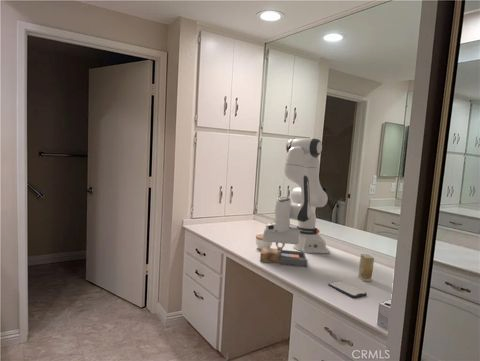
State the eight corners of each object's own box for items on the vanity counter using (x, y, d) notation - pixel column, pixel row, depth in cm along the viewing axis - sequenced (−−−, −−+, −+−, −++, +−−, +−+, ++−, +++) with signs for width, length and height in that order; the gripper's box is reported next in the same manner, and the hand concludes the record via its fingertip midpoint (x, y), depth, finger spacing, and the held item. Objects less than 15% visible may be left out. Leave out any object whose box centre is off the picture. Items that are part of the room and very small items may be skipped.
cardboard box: (279, 256, 199) (280, 249, 199) (280, 263, 187) (280, 255, 187) (261, 254, 200) (261, 247, 200) (260, 261, 189) (260, 253, 188)
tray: (303, 257, 200) (304, 252, 200) (306, 266, 184) (306, 260, 184) (279, 255, 201) (280, 249, 201) (280, 264, 186) (280, 258, 185)
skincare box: (357, 277, 174) (360, 253, 173) (366, 277, 174) (368, 253, 173) (363, 281, 168) (365, 257, 166) (371, 282, 168) (374, 257, 167)
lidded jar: (258, 251, 207) (259, 236, 206) (252, 246, 217) (253, 231, 217) (274, 251, 210) (275, 236, 209) (268, 246, 220) (269, 231, 220)
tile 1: (289, 254, 195) (289, 258, 195) (290, 256, 190) (289, 261, 190) (298, 254, 194) (298, 259, 195) (299, 257, 190) (298, 262, 190)
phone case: (326, 286, 160) (353, 299, 146) (326, 283, 160) (354, 296, 146) (340, 284, 165) (367, 296, 151) (340, 280, 165) (367, 293, 151)
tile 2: (289, 258, 195) (289, 254, 195) (289, 261, 190) (290, 256, 190) (280, 257, 196) (280, 253, 196) (280, 260, 191) (281, 255, 191)
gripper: (299, 226, 194) (297, 250, 195) (263, 223, 196) (262, 247, 197) (300, 229, 188) (298, 253, 189) (263, 225, 190) (261, 250, 191)
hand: (279, 250), depth 193 cm, fingers closed
